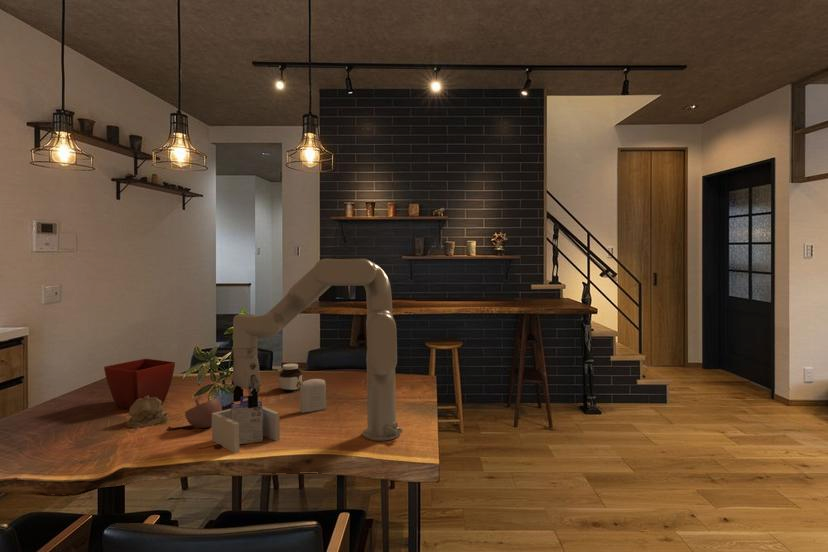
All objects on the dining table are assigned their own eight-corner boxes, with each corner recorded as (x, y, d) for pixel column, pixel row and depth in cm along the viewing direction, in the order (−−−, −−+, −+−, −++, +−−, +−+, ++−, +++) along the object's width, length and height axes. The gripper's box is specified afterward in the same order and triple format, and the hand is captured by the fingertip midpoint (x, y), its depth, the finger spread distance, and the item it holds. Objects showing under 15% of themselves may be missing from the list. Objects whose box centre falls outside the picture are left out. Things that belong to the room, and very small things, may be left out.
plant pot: (177, 401, 210) (176, 361, 210) (135, 414, 193) (134, 371, 192) (146, 396, 218) (145, 358, 218) (103, 408, 201) (102, 366, 200)
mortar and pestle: (203, 420, 185) (203, 389, 184) (229, 423, 180) (228, 392, 180) (177, 430, 174) (177, 398, 173) (204, 434, 169) (203, 401, 169)
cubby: (279, 439, 164) (279, 412, 164) (234, 453, 153) (234, 424, 153) (255, 428, 175) (255, 403, 175) (212, 440, 164) (211, 413, 164)
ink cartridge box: (262, 436, 168) (261, 393, 167) (263, 441, 163) (263, 397, 162) (231, 440, 164) (230, 396, 164) (231, 446, 159) (230, 401, 158)
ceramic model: (122, 430, 175) (121, 401, 175) (129, 420, 186) (128, 393, 186) (166, 425, 180) (165, 398, 179) (171, 416, 190) (170, 390, 190)
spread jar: (288, 394, 220) (288, 368, 220) (270, 390, 226) (270, 365, 226) (307, 388, 230) (307, 363, 230) (290, 385, 236) (289, 360, 236)
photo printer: (323, 406, 201) (322, 376, 200) (327, 409, 197) (327, 378, 197) (298, 411, 195) (298, 380, 195) (302, 414, 191) (302, 382, 191)
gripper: (269, 354, 159) (269, 407, 160) (243, 347, 171) (243, 396, 172) (247, 357, 154) (247, 412, 154) (222, 350, 166) (222, 401, 166)
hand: (245, 404), depth 163 cm, fingers open, 9 cm apart
